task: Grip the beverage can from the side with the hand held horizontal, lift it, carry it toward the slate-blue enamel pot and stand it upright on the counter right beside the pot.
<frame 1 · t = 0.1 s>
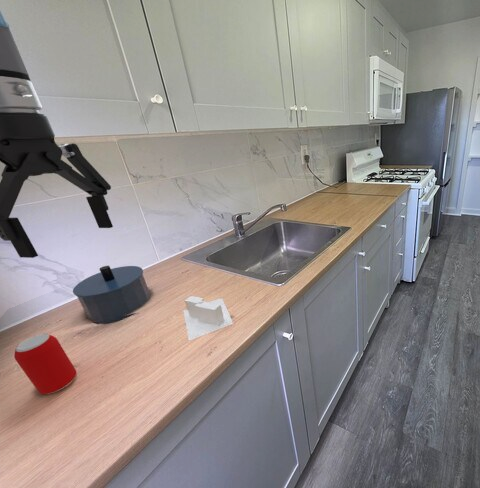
hand: (72, 240, 49), 31 cm above the worktop, tool pointing down, fingers open, 13 cm apart
beverage can: (60, 384, 57), on the worktop
pot lid: (110, 280, 79), point 9 cm above the worktop, touching pot
pot: (122, 306, 82), on the worktop
napkin holder: (207, 317, 76), on the worktop
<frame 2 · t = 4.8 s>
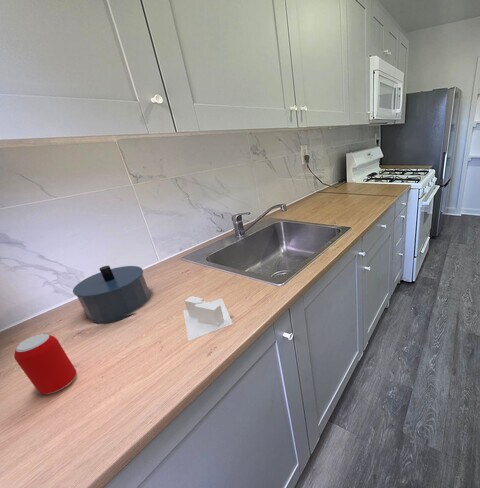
nothing on the worktop moved.
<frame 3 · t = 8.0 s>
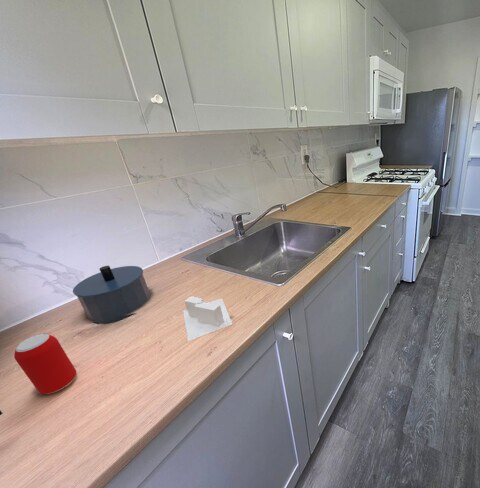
nothing on the worktop moved.
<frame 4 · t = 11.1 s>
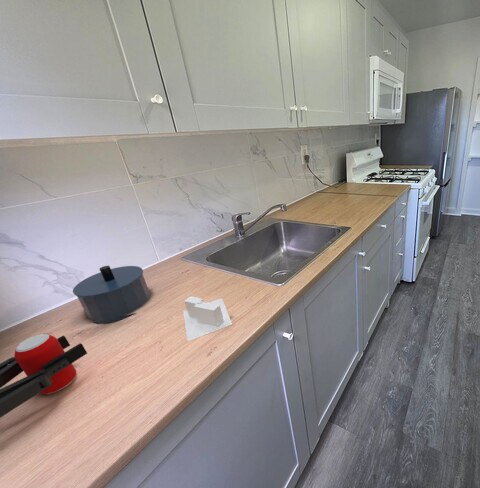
hand: (74, 344, 59), 7 cm above the worktop, tool horizontal, fingers closed on beverage can, 6 cm apart
beverage can: (60, 384, 57), on the worktop, touching gripper
everything else where it was.
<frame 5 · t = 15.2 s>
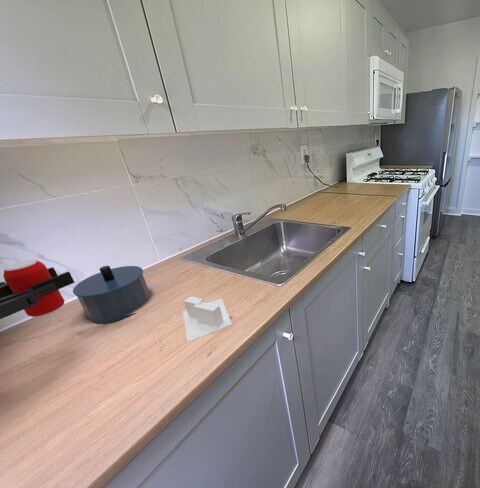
hand: (62, 274, 61), 20 cm above the worktop, tool horizontal, fingers closed on beverage can, 6 cm apart
beverage can: (49, 311, 60), point 13 cm above the worktop, touching gripper
everything else where it was.
when the fingers open (7 cm above the worktop, at t = 19.5 s): beverage can stays where it is, on the worktop.
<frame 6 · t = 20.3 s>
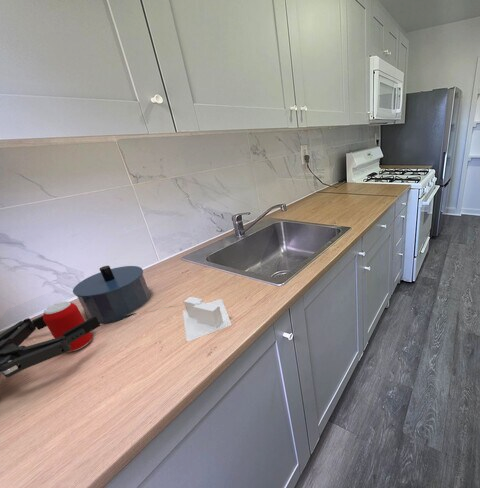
hand: (82, 314, 68), 7 cm above the worktop, tool horizontal, fingers open, 13 cm apart
beverage can: (79, 345, 68), on the worktop
everything else where it was.
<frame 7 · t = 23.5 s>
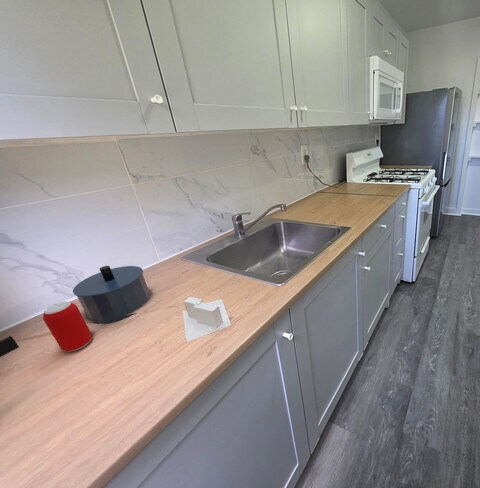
nothing on the worktop moved.
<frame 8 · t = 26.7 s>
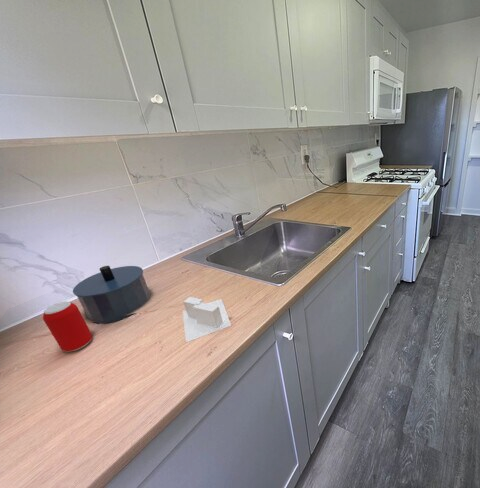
nothing on the worktop moved.
at the end: beverage can inside the target area on the worktop beside the pot (0.4 cm from its centre), on the worktop; beverage can tilted 0°; the gripper is holding nothing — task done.
